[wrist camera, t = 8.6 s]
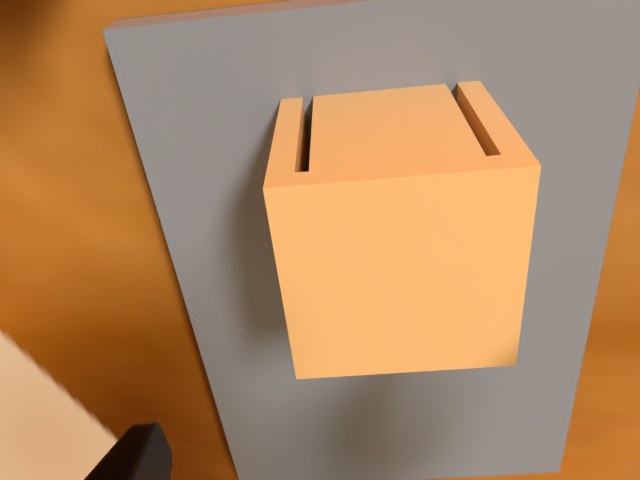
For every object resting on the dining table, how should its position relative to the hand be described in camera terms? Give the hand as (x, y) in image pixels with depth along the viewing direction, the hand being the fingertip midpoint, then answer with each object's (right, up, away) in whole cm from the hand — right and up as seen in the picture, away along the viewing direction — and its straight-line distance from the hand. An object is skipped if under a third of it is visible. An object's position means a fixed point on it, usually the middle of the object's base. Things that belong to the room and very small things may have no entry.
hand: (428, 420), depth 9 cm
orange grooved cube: (0, +5, +8) cm, 9 cm away
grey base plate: (+1, +1, +11) cm, 11 cm away
